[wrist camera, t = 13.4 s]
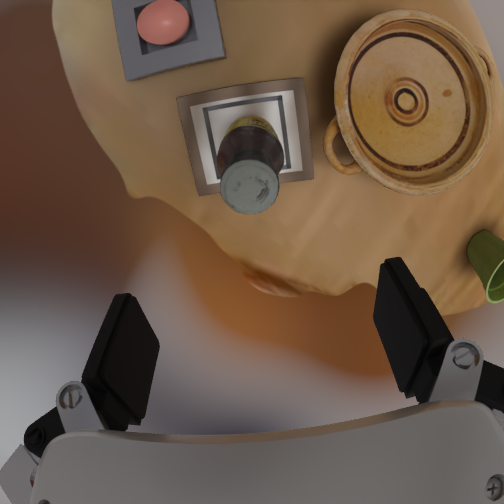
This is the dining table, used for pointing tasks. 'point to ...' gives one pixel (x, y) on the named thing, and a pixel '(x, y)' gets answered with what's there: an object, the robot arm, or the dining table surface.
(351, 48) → the ceramic bowl
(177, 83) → the dining table surface
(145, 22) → the button
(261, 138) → the sauce bottle
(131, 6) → the button housing
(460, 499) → the robot arm
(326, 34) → the dining table surface
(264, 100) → the pad
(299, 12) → the dining table surface
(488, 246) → the plant pot
